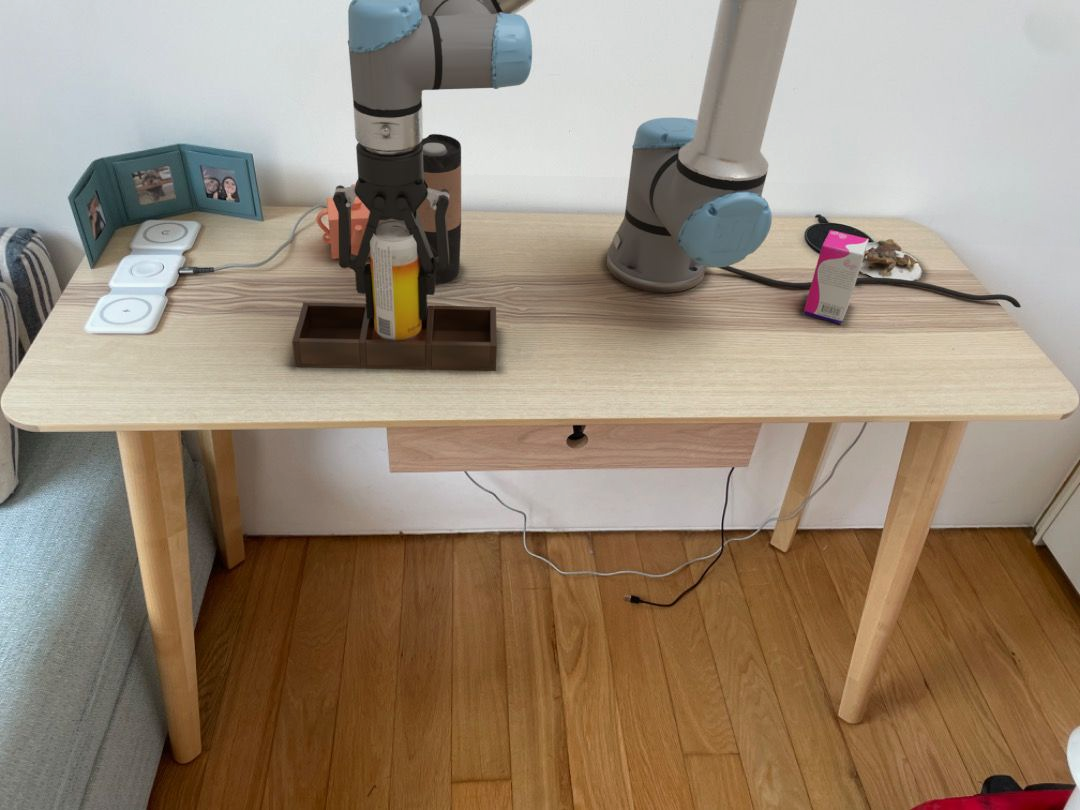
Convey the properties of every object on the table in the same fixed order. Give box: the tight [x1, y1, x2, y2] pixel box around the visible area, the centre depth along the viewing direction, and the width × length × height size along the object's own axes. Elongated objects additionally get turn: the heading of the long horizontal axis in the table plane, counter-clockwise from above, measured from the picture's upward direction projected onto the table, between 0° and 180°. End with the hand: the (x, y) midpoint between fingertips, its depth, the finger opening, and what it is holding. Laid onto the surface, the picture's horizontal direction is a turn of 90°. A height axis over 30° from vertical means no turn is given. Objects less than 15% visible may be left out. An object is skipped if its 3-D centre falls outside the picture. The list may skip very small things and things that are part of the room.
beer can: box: [369, 219, 422, 341], centre depth 114 cm, size 6×6×15 cm
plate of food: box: [859, 238, 923, 281], centre depth 145 cm, size 12×12×4 cm
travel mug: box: [417, 133, 462, 285], centre depth 130 cm, size 8×8×20 cm
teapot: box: [315, 183, 383, 260], centre depth 137 cm, size 12×15×8 cm
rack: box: [291, 301, 498, 372], centre depth 119 cm, size 26×9×4 cm, turn 93°
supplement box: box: [803, 229, 870, 325], centre depth 131 cm, size 6×6×12 cm
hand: (397, 313), depth 117 cm, fingers closed on beer can, 6 cm apart
